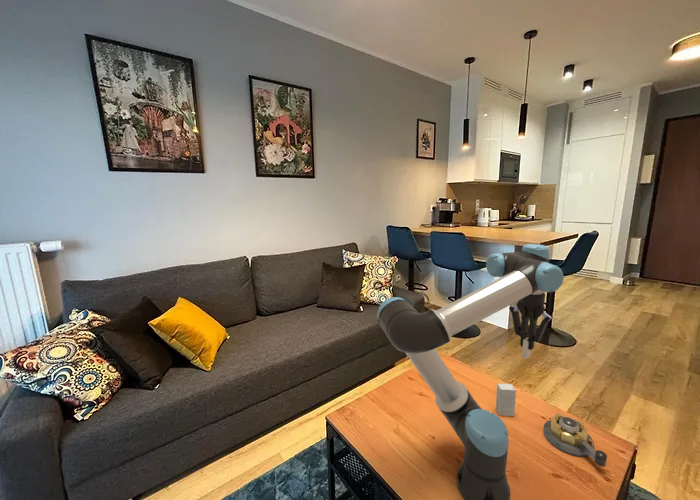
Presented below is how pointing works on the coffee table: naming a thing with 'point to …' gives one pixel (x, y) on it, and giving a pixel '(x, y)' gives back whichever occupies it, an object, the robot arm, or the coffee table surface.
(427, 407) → the coffee table surface
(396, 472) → the coffee table surface
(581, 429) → the ball lever
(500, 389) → the skincare box
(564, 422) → the housing
